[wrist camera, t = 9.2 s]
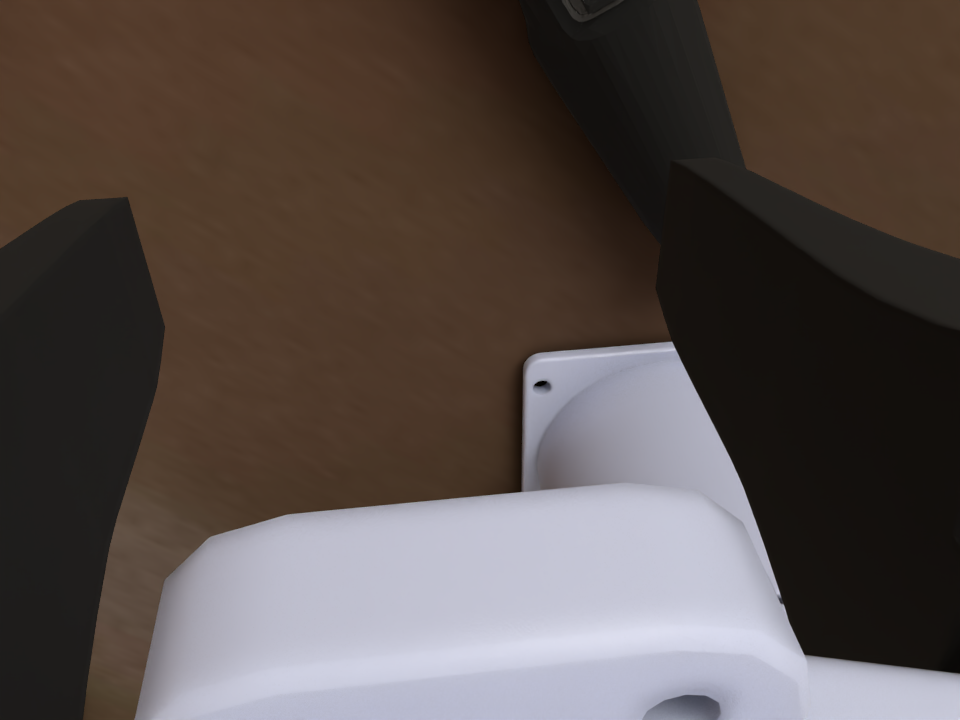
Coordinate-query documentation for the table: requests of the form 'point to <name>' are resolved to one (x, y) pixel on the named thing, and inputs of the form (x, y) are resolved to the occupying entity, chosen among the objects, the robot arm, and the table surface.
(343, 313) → the table surface
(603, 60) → the electric trimmer
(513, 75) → the table surface
